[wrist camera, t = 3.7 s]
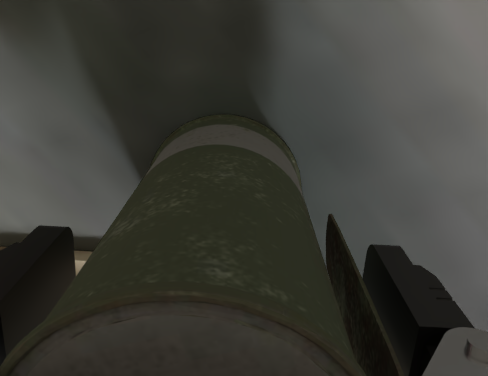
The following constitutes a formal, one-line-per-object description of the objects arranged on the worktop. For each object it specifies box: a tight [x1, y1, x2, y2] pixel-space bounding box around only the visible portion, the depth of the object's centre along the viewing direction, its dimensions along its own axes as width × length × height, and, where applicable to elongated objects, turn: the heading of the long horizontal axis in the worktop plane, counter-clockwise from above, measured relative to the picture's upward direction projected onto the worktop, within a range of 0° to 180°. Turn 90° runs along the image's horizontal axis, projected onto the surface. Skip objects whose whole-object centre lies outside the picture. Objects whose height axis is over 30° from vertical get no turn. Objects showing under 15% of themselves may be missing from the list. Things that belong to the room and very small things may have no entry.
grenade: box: [0, 114, 404, 376], centre depth 11 cm, size 6×6×15 cm
